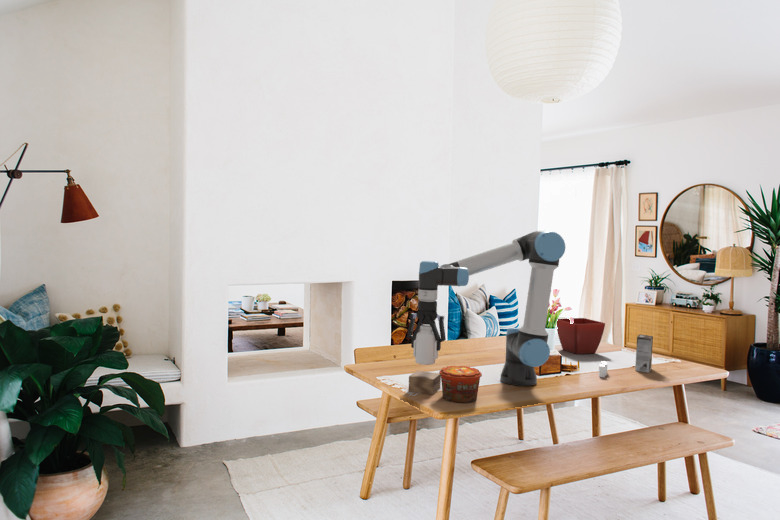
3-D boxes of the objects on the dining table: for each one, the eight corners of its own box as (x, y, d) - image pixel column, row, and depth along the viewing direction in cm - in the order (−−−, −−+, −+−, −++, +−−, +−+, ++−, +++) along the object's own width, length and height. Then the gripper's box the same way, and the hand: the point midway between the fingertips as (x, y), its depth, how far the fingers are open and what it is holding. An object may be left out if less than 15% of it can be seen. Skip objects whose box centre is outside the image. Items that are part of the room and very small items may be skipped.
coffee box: (637, 367, 272) (638, 334, 271) (651, 369, 268) (653, 335, 268) (634, 370, 264) (636, 336, 263) (649, 372, 261) (651, 338, 260)
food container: (430, 395, 215) (431, 367, 214) (462, 390, 223) (463, 363, 223) (456, 407, 201) (457, 377, 201) (489, 400, 210) (490, 372, 209)
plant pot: (553, 348, 311) (554, 318, 310) (582, 347, 316) (583, 317, 316) (574, 355, 293) (575, 324, 292) (604, 354, 298) (606, 323, 297)
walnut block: (440, 388, 225) (440, 373, 224) (432, 394, 215) (433, 379, 215) (416, 385, 228) (417, 370, 228) (408, 391, 219) (409, 376, 219)
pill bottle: (434, 365, 217) (435, 327, 216) (413, 364, 218) (414, 326, 217) (436, 361, 224) (437, 324, 224) (416, 359, 226) (418, 323, 225)
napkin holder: (600, 370, 264) (601, 358, 264) (622, 376, 255) (622, 363, 254) (580, 374, 256) (580, 362, 255) (601, 380, 246) (602, 367, 246)
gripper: (399, 299, 220) (397, 356, 221) (450, 303, 213) (448, 362, 214) (406, 297, 227) (404, 352, 228) (455, 301, 220) (453, 358, 221)
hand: (425, 357), depth 221 cm, fingers closed on pill bottle, 8 cm apart
